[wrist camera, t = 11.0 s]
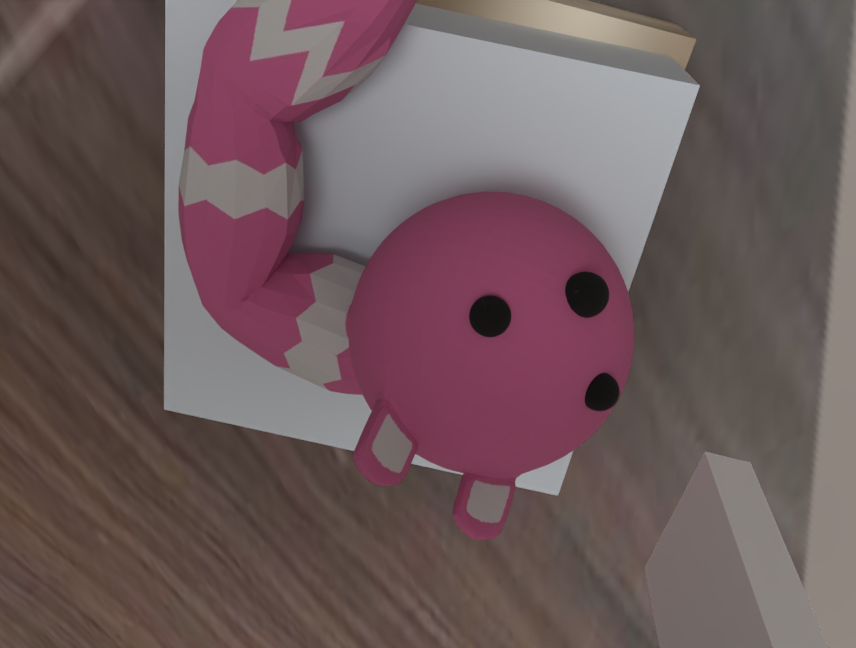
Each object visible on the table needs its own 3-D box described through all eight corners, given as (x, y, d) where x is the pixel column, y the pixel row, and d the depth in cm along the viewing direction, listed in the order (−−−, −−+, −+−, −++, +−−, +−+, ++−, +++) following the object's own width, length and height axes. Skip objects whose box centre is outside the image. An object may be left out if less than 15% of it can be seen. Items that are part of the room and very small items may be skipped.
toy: (766, 152, 17) (677, 583, 13) (525, 271, 24) (414, 568, 20) (363, -221, 13) (30, 196, 9) (223, 50, 21) (2, 354, 16)
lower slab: (224, 283, 29) (182, 332, 26) (262, -87, 23) (213, -87, 20) (546, 366, 29) (547, 427, 26) (671, 20, 23) (696, 39, 20)
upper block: (213, 343, 26) (163, 409, 22) (228, -35, 20) (165, -26, 17) (554, 416, 26) (557, 495, 22) (670, 55, 20) (700, 85, 16)
